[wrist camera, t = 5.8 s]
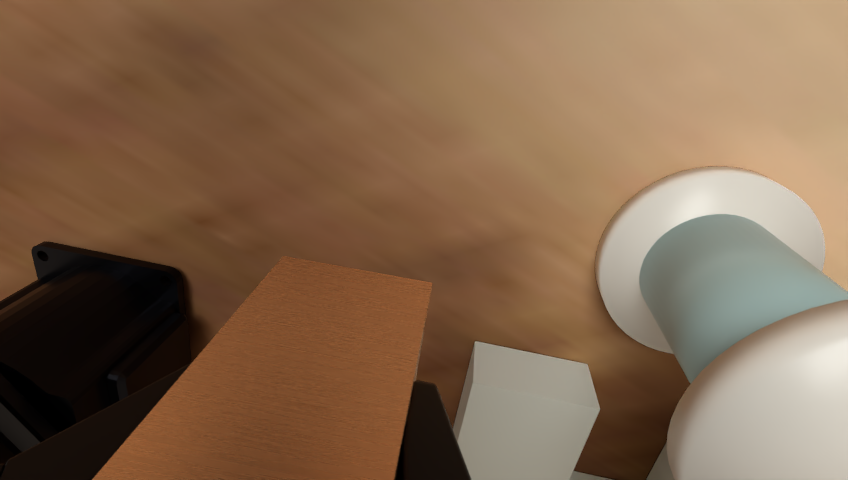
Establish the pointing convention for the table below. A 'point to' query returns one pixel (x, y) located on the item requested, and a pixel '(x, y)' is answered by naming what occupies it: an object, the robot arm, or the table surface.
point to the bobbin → (735, 322)
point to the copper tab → (292, 385)
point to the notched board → (528, 417)
